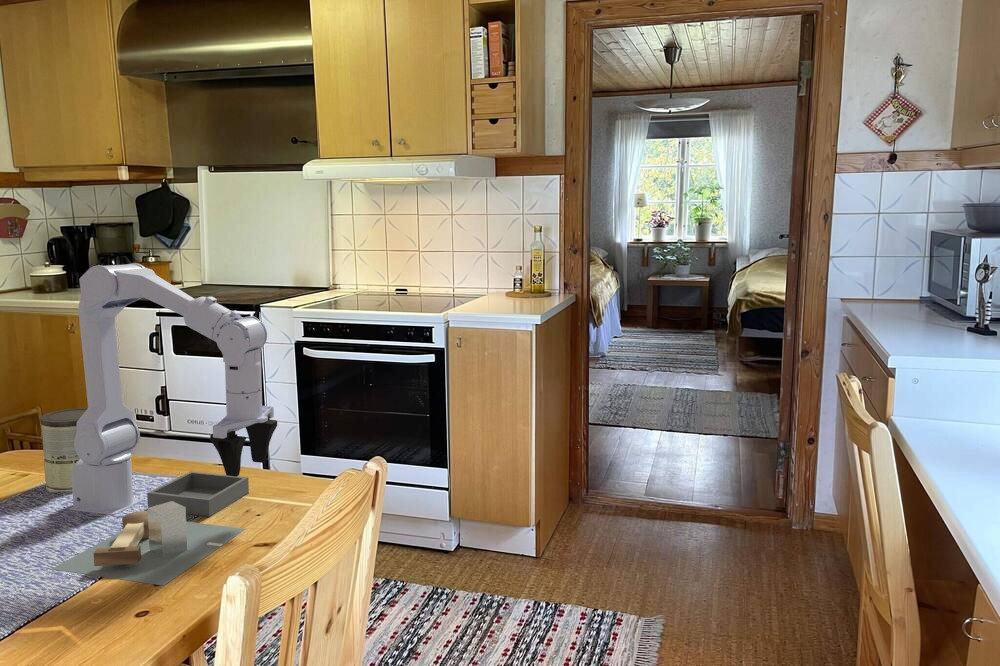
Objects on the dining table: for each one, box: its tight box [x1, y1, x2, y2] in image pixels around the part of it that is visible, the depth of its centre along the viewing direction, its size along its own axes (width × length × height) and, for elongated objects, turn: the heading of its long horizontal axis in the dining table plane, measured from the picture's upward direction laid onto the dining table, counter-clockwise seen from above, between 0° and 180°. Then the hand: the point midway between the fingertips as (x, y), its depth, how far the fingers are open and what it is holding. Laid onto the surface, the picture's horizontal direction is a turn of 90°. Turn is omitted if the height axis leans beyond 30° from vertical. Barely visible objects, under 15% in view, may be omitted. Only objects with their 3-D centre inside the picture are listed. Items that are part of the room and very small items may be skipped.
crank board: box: [51, 521, 246, 587], centre depth 120 cm, size 19×21×1 cm
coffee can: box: [39, 407, 88, 494], centre depth 148 cm, size 10×10×14 cm
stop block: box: [147, 501, 187, 558], centre depth 119 cm, size 4×4×7 cm
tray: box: [146, 470, 250, 518], centre depth 140 cm, size 12×12×4 cm
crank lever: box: [93, 510, 149, 566], centre depth 120 cm, size 16×6×3 cm, turn 11°
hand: (246, 468), depth 130 cm, fingers open, 7 cm apart
